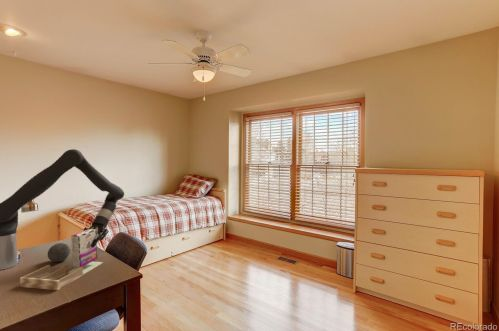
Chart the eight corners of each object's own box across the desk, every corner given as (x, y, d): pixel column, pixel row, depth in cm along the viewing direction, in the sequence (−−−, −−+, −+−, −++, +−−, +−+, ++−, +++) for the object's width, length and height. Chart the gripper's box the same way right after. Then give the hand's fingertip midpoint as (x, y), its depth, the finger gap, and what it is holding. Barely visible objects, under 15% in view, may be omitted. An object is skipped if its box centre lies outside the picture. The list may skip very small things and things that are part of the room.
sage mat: (67, 273, 129) (67, 272, 129) (88, 261, 143) (88, 261, 143) (83, 274, 128) (83, 273, 128) (102, 262, 142) (102, 262, 142)
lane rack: (20, 286, 115) (19, 278, 115) (48, 272, 129) (48, 264, 129) (58, 290, 113) (57, 281, 113) (82, 275, 127) (82, 267, 127)
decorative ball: (47, 266, 136) (46, 248, 136) (48, 260, 144) (47, 242, 144) (70, 262, 142) (70, 244, 141) (69, 256, 150) (69, 239, 149)
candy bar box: (89, 258, 141) (88, 228, 140) (97, 259, 140) (96, 229, 139) (71, 267, 130) (70, 235, 129) (80, 268, 129) (79, 235, 128)
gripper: (87, 214, 146) (70, 242, 134) (111, 215, 144) (95, 244, 132) (94, 221, 151) (79, 248, 140) (117, 222, 149) (103, 250, 138)
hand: (87, 246), depth 136 cm, fingers closed on candy bar box, 5 cm apart
